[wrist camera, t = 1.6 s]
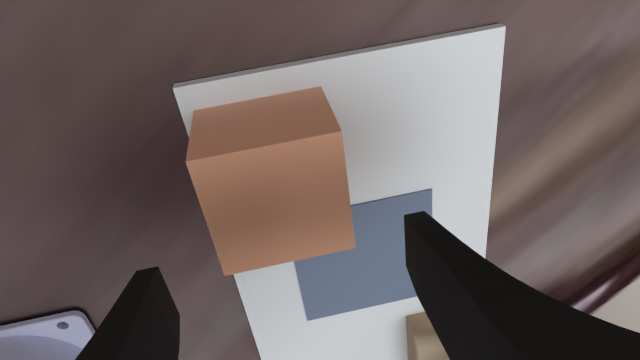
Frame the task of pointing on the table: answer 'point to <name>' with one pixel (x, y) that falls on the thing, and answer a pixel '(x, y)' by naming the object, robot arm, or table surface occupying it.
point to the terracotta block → (271, 179)
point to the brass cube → (423, 339)
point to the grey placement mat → (376, 184)
